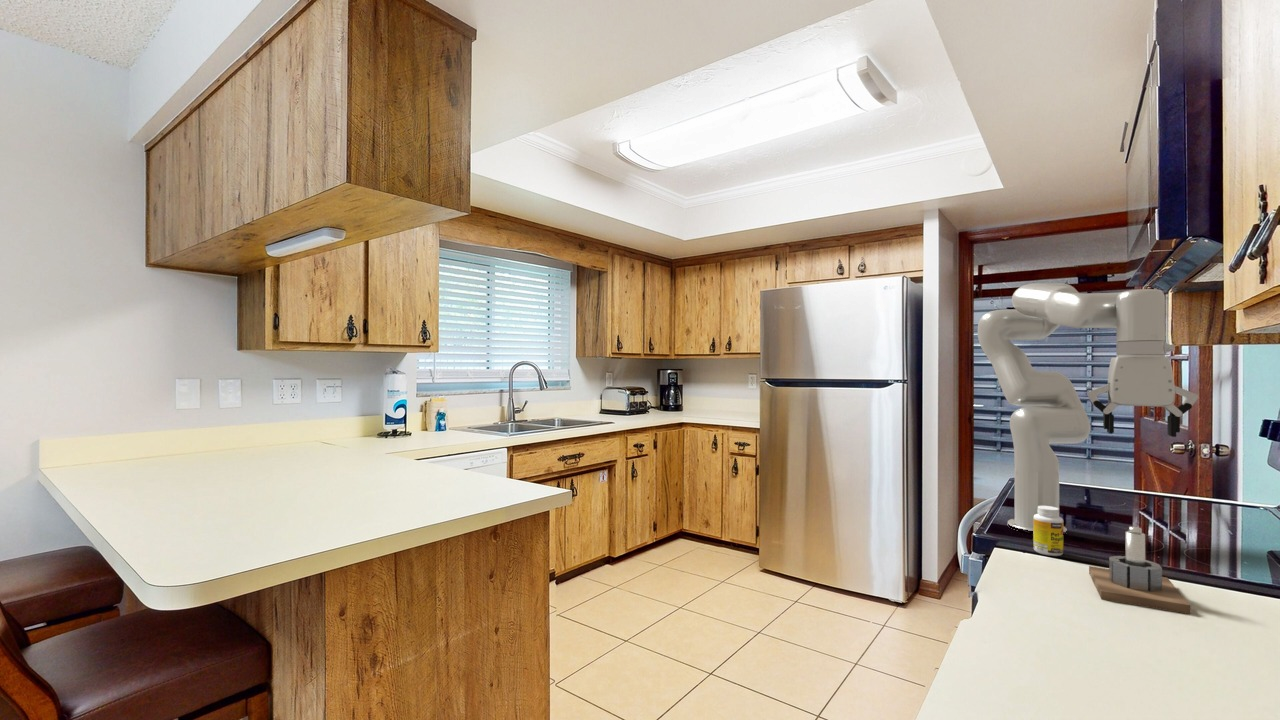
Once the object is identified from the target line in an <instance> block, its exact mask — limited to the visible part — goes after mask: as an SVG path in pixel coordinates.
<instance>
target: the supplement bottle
mask: <svg viewBox="0 0 1280 720" xmlns="http://www.w3.org/2000/svg"><path fill="white" fill-rule="evenodd" d="M1063 526H1064V519H1063V518H1062V516H1060V508H1059V509H1058V508H1056V507H1052V506H1038V514H1035V515H1034V518H1033V534H1032V536H1033V538H1032V541H1033V545H1032V547H1033V550H1034V552H1036V553H1038V554H1040V555H1044V556H1049V557H1051V556H1052V557H1060V556H1062V555H1063V554H1064V535H1063Z"/></svg>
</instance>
